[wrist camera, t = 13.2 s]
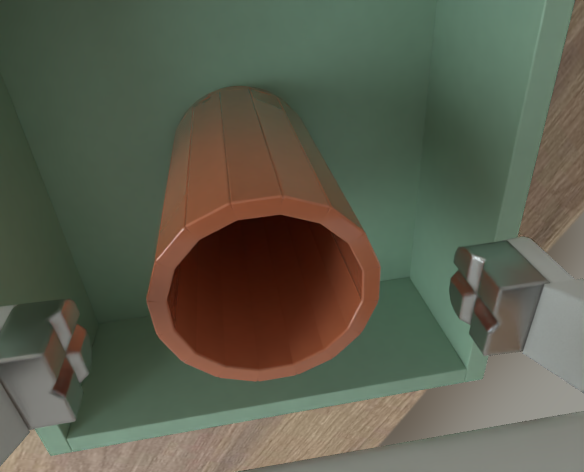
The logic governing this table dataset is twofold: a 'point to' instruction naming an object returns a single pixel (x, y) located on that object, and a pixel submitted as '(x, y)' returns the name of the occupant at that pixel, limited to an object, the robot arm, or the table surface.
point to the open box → (330, 142)
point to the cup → (256, 244)
